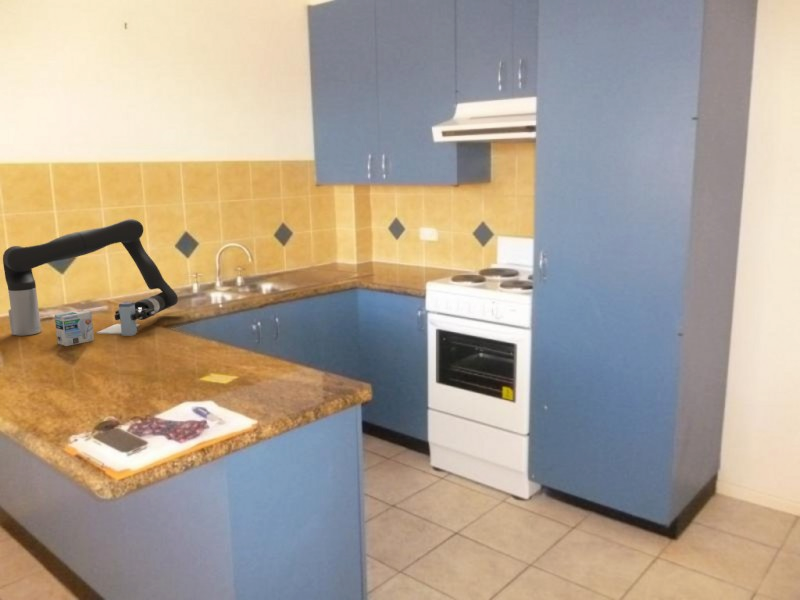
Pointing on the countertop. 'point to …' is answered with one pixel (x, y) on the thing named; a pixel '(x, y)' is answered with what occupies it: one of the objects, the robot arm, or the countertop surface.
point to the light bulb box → (74, 327)
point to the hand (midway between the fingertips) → (124, 317)
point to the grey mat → (113, 329)
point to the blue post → (127, 318)
